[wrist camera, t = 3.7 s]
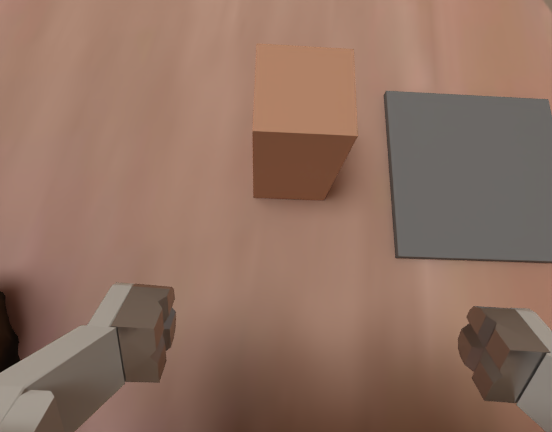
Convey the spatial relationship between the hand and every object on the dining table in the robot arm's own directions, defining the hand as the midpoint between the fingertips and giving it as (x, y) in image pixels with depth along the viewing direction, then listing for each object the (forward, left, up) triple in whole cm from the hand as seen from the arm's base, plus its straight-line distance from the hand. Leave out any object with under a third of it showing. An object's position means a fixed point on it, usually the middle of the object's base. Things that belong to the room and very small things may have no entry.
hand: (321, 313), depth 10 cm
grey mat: (+12, -15, -16) cm, 25 cm away
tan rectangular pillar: (+12, 0, -16) cm, 20 cm away
